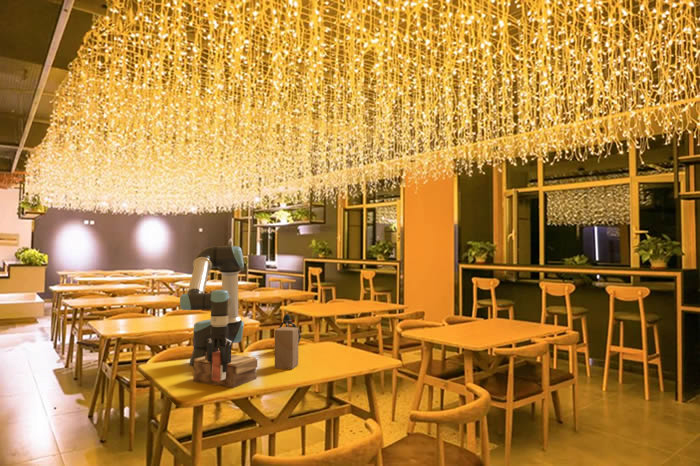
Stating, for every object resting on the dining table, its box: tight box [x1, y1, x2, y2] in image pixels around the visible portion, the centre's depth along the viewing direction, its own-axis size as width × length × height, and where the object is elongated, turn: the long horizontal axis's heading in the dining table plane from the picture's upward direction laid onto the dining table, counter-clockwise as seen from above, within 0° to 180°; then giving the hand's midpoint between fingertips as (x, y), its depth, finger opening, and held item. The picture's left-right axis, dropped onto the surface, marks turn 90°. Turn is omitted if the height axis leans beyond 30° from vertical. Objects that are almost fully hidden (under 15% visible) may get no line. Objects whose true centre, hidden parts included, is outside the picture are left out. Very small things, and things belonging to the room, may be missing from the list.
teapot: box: [274, 313, 302, 344], centre depth 281 cm, size 12×25×23 cm, turn 34°
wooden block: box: [274, 326, 299, 370], centre depth 241 cm, size 10×10×20 cm
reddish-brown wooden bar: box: [212, 351, 225, 381], centre depth 200 cm, size 4×4×12 cm
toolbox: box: [192, 361, 257, 389], centre depth 215 cm, size 24×16×9 cm, turn 64°
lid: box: [194, 348, 258, 375], centre depth 215 cm, size 26×15×8 cm, turn 64°
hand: (218, 378), depth 200 cm, fingers closed on reddish-brown wooden bar, 4 cm apart
